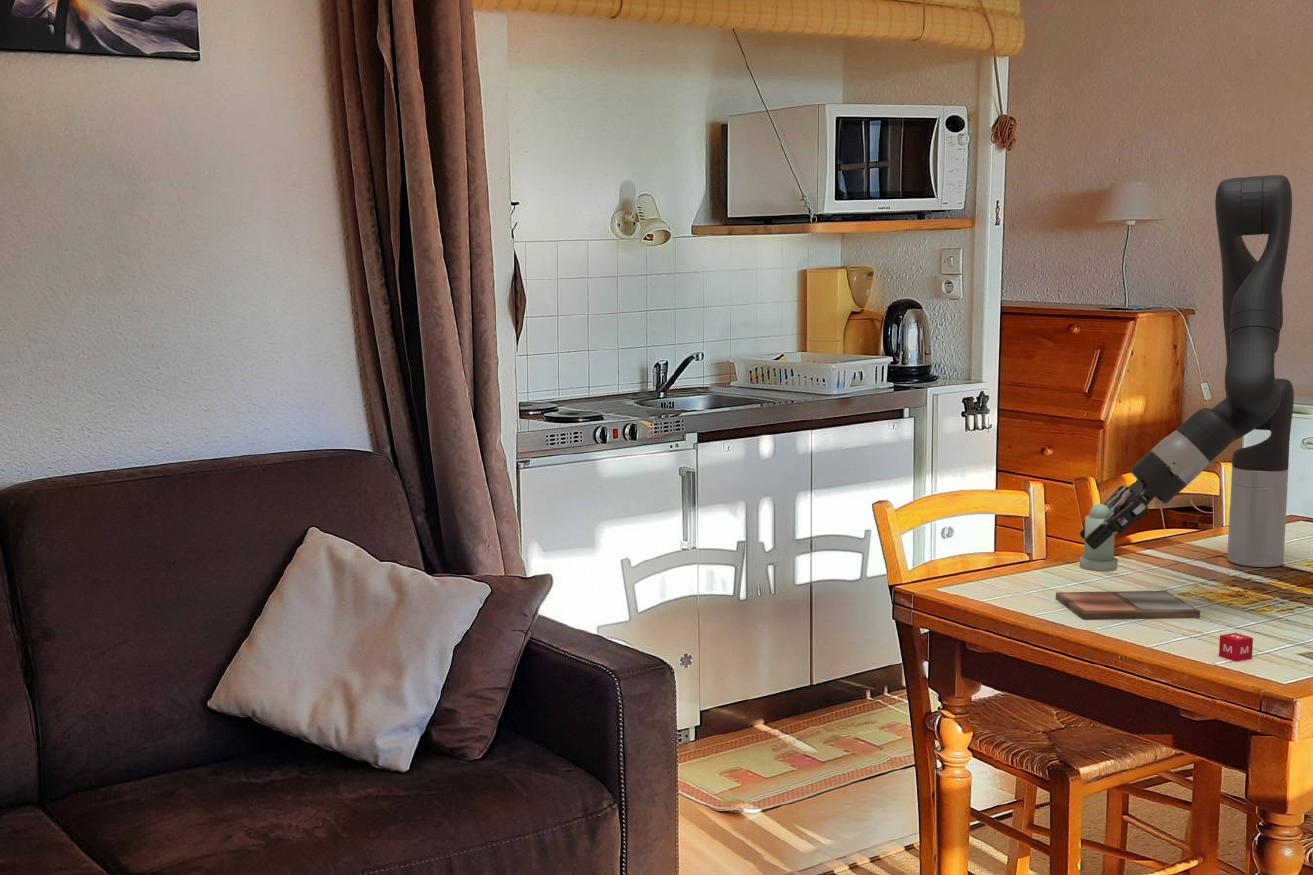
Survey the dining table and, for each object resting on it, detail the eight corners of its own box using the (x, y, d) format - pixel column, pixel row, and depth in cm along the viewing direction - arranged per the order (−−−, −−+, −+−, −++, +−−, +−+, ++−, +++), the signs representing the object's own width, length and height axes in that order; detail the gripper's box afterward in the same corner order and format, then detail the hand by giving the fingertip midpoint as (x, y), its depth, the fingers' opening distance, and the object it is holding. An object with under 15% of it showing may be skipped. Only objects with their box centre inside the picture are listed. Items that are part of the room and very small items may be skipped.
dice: (1218, 656, 188) (1219, 635, 187) (1234, 653, 189) (1235, 632, 188) (1236, 662, 185) (1237, 640, 184) (1252, 659, 186) (1253, 637, 186)
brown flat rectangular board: (1055, 598, 220) (1056, 591, 219) (1165, 596, 220) (1165, 590, 220) (1083, 619, 207) (1083, 612, 207) (1200, 617, 207) (1200, 610, 207)
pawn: (1074, 564, 215) (1076, 501, 214) (1109, 563, 215) (1111, 500, 214) (1086, 571, 210) (1088, 507, 208) (1122, 571, 210) (1125, 507, 208)
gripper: (1143, 443, 216) (1062, 516, 219) (1163, 455, 202) (1076, 533, 205) (1176, 477, 216) (1095, 549, 219) (1198, 491, 202) (1111, 568, 205)
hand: (1086, 541), depth 212 cm, fingers closed on pawn, 4 cm apart
